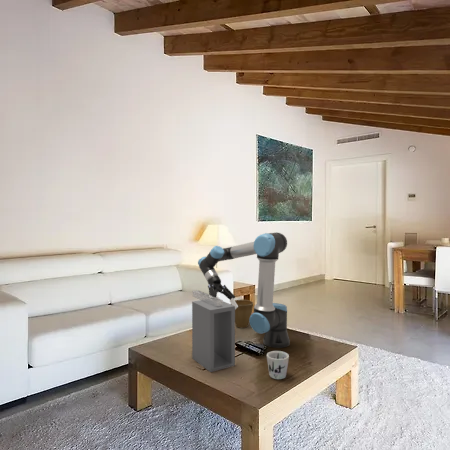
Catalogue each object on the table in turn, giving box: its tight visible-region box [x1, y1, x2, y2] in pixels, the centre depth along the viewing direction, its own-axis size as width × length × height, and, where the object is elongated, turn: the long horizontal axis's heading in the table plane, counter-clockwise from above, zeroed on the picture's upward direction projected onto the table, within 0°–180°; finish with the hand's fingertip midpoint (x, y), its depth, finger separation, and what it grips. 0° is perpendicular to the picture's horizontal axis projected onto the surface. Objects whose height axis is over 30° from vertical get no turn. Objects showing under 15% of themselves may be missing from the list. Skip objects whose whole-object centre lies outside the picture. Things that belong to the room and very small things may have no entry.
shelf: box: [191, 300, 236, 373], centre depth 192 cm, size 19×14×30 cm
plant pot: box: [230, 299, 254, 329], centre depth 249 cm, size 15×15×16 cm
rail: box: [192, 289, 224, 307], centre depth 196 cm, size 26×4×3 cm, turn 32°
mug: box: [266, 350, 290, 380], centre depth 179 cm, size 10×15×10 cm
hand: (228, 307), depth 214 cm, fingers open, 13 cm apart
